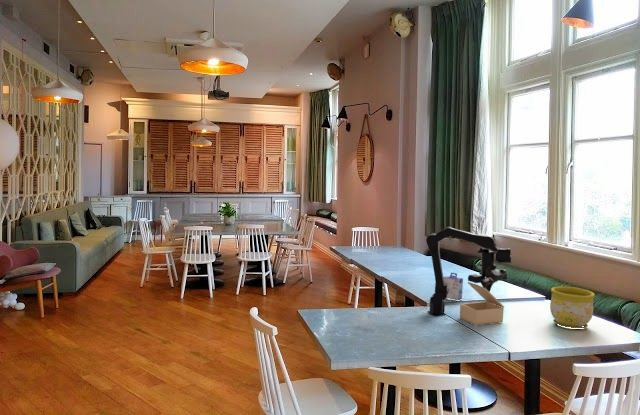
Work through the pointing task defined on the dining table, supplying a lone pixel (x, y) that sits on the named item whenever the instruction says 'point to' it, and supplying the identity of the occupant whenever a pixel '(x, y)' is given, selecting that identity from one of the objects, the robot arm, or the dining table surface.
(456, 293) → the ink cartridge box
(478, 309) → the carton
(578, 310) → the flowerpot
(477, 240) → the robot arm
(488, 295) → the carton lid
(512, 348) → the dining table surface
